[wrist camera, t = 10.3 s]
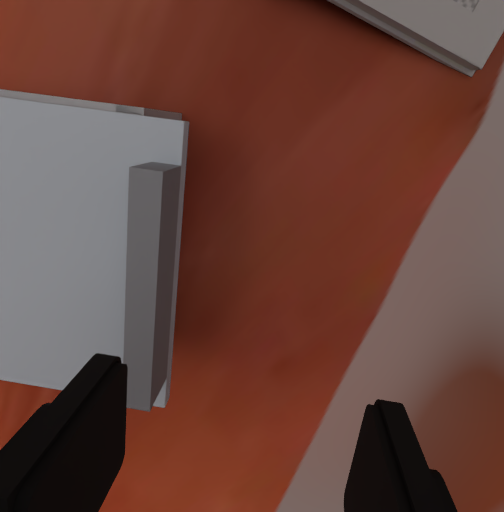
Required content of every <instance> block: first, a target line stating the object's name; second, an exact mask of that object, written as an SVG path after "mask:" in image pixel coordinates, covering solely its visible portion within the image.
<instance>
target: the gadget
mask: <svg viewBox="0 0 504 512" xmlns="http://www.w3.org/2000/svg"><path fill="white" fill-rule="evenodd" d="M327 1H329V2H331V3H333V4H335V5H336V6H338V7H340V8H342V9H344V10H345V11H347V12H349V13H351V14H353V15H354V16H356V17H358V18H360V19H362V20H364V21H365V22H367V23H369V24H371V25H373V26H374V27H376V28H378V29H380V30H382V31H384V32H385V33H387V34H389V35H391V36H393V37H394V38H396V39H398V40H400V41H402V42H404V43H405V44H407V45H409V46H411V47H413V48H414V49H416V50H418V51H420V52H422V53H424V54H425V55H427V56H429V57H431V58H433V59H434V60H436V61H438V62H440V63H442V64H445V65H447V66H449V67H451V68H453V69H455V70H457V71H459V72H461V73H463V74H465V75H468V76H470V77H472V76H473V74H474V72H475V71H476V70H481V69H482V68H483V66H484V64H485V63H486V61H487V59H488V57H489V56H490V54H491V52H492V50H493V49H494V47H495V45H496V43H497V42H498V40H499V38H500V36H501V35H502V33H503V31H504V0H327Z"/></svg>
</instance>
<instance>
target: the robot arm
mask: <svg viewBox="0 0 504 512" xmlns="http://www.w3.org/2000/svg"><path fill="white" fill-rule="evenodd" d="M127 376H128V367H127V364H123V363H121V358H120V357H118V356H112V355H106V354H100V353H96V354H95V355H93V356H92V358H91V359H90V360H89V361H88V362H87V363H86V364H85V365H84V367H83V368H82V369H81V370H80V371H79V372H78V373H77V375H76V376H75V377H74V378H73V379H72V380H71V381H70V382H69V384H68V385H67V386H66V387H65V388H64V389H63V390H62V392H61V393H60V394H59V395H58V396H57V397H56V398H55V399H54V401H53V402H52V403H46V404H44V405H42V406H41V407H40V408H39V409H38V410H37V411H36V412H35V413H34V414H33V415H32V416H31V417H30V418H29V420H28V421H27V422H26V423H25V424H24V425H23V426H22V427H21V428H20V429H19V431H18V432H17V433H16V434H15V435H14V436H13V437H12V438H11V439H10V440H9V442H8V443H7V444H6V445H5V446H4V447H3V448H2V449H1V450H0V512H98V511H99V509H100V507H101V505H102V503H103V501H104V500H105V498H106V496H107V494H108V492H109V490H110V488H111V486H112V484H113V482H114V480H115V478H116V476H117V474H118V472H119V470H120V468H121V466H122V463H123V459H124V455H125V435H126V406H127ZM344 512H457V509H456V507H455V505H454V502H453V500H452V498H451V495H450V493H449V491H448V489H447V486H446V484H445V482H444V479H443V478H442V476H441V474H440V473H439V472H438V471H437V470H432V469H429V467H428V465H427V462H426V460H425V457H424V455H423V452H422V450H421V447H420V445H419V442H418V440H417V438H416V435H415V432H414V430H413V428H412V425H411V422H410V420H409V418H408V415H407V412H406V410H405V407H404V406H403V404H401V403H397V402H391V401H385V400H379V399H378V400H376V402H375V404H374V405H370V404H368V405H367V407H366V409H365V413H364V417H363V421H362V425H361V429H360V433H359V437H358V441H357V445H356V449H355V453H354V457H353V461H352V465H351V469H350V473H349V477H348V480H347V484H346V489H345V493H344Z"/></svg>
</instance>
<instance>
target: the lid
mask: <svg viewBox="0 0 504 512" xmlns="http://www.w3.org/2000/svg"><path fill="white" fill-rule="evenodd" d="M188 133H189V122H188V121H180V120H173V119H165V118H158V117H150V116H142V115H135V114H127V113H119V112H112V111H104V110H97V109H89V108H81V107H74V106H66V105H59V104H51V103H43V102H36V101H28V100H20V99H13V98H5V97H0V380H5V381H10V382H16V383H22V384H28V385H34V386H40V387H46V388H51V389H57V390H63V389H64V388H65V387H66V386H67V385H68V384H69V382H70V381H71V380H72V379H73V378H74V377H75V376H76V375H77V373H78V372H79V371H80V370H81V369H82V368H83V367H84V365H85V364H86V363H87V362H88V361H89V360H90V359H91V358H92V356H93V355H95V354H96V353H100V354H106V355H112V356H118V357H120V358H121V363H123V364H127V367H128V376H127V406H126V408H132V409H138V410H144V411H149V412H150V410H151V408H152V406H157V407H163V408H165V406H166V404H167V402H168V399H169V395H170V381H171V368H172V354H173V340H174V326H175V312H176V298H177V285H178V271H179V257H180V243H181V229H182V215H183V202H184V188H185V174H186V160H187V146H188Z"/></svg>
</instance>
